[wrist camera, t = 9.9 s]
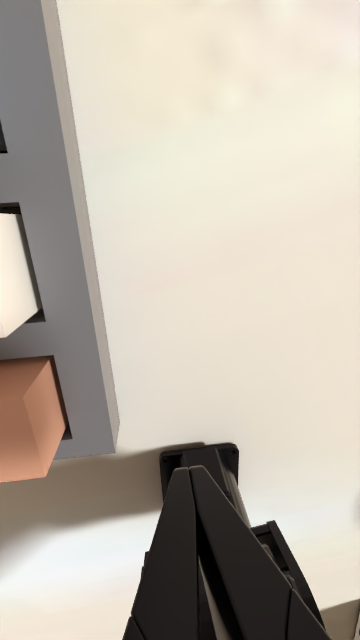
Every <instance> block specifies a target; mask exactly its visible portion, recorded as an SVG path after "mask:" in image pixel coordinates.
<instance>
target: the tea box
mask: <svg viewBox="0 0 360 640" xmlns="http://www.w3.org/2000/svg"><path fill="white" fill-rule="evenodd" d="M354 640H360V613H359V619H358V624H357V627H356V633H355V638H354Z"/></svg>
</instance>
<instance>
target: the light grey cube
mask: <svg viewBox="0 0 360 640" xmlns="http://www.w3.org/2000/svg"><path fill="white" fill-rule="evenodd" d="M5 150H7V147H6V143H5V139H4V134H3V130H2V125H1V121H0V151H5Z"/></svg>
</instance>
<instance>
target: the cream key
mask: <svg viewBox="0 0 360 640" xmlns="http://www.w3.org/2000/svg"><path fill="white" fill-rule="evenodd" d="M42 307H43V306H42V302H41V297H40V293H39V288H38V284H37V280H36V275H35V271H34V266H33V262H32V257H31V253H30V249H29V244H28V240H27V235H26V231H25V227H24V222H23V218H22V214H0V338H4V337H7V336H8V335H9V334H11V333H12V332H13V331H14V330H15V329H17V328H18V327H19V326H20V325H22V324H23V323H24V322H25V321H26V320H28V319H29V318H30V317H31V316H33V315H34V314H35V313H36V312H37V311H39V310H40V309H41V308H42Z"/></svg>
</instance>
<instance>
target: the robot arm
mask: <svg viewBox="0 0 360 640" xmlns="http://www.w3.org/2000/svg"><path fill="white" fill-rule="evenodd" d="M231 450H233V451H231ZM165 458H167V459H165ZM159 461H160V472H161V482H162V492H163V503H164V504H163V507H162V511H161V514H160V517H159V520H158V524H157V527H156V530H155V534H154V537H153V540H152V544H151V547H150V550H149V551H147V552H145V559H144V566H143V567H142V572H141V580H140V584H139V587H138V590H137V593H136V597H135V600H134V603H133V607H132V610H131V616H130V617H129V619H128V623H127V626H126V629H125V633H124V636H123V639H122V640H332V639H331V637H330V636H329V635H328V633H327V632H326V630H325V627H324V624H323V621H322V618H321V615H320V613H319V610H318V607H317V605H316V602H315V600H314V597H313V595H312V593H311V590H310V588H309V586H308V584H307V582H306V580H305V577H304V575H303V574H302V572H301V570H300V568H299V566H298V564H297V562H296V560H295V558H294V556H293V554H292V553H291V551H290V549H289V547H288V545H287V543H286V541H285V539H284V537H283V535H282V533H281V531H280V530H279V528H278V526H277V524H276V522H275V520H273V521H269V522H267V524H264V525H260V526H256V527H251V525H250V522H249V519H248V516H247V513H246V510H245V507H244V504H243V501H242V498H241V495H240V492H239V489H238V464H239V450H238V448H237V446H236V445H235V444H227V445H219V446H210V447H202V448H194V449H186V450H178V451H169V452H163V453H161V454H160V456H159Z"/></svg>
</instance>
